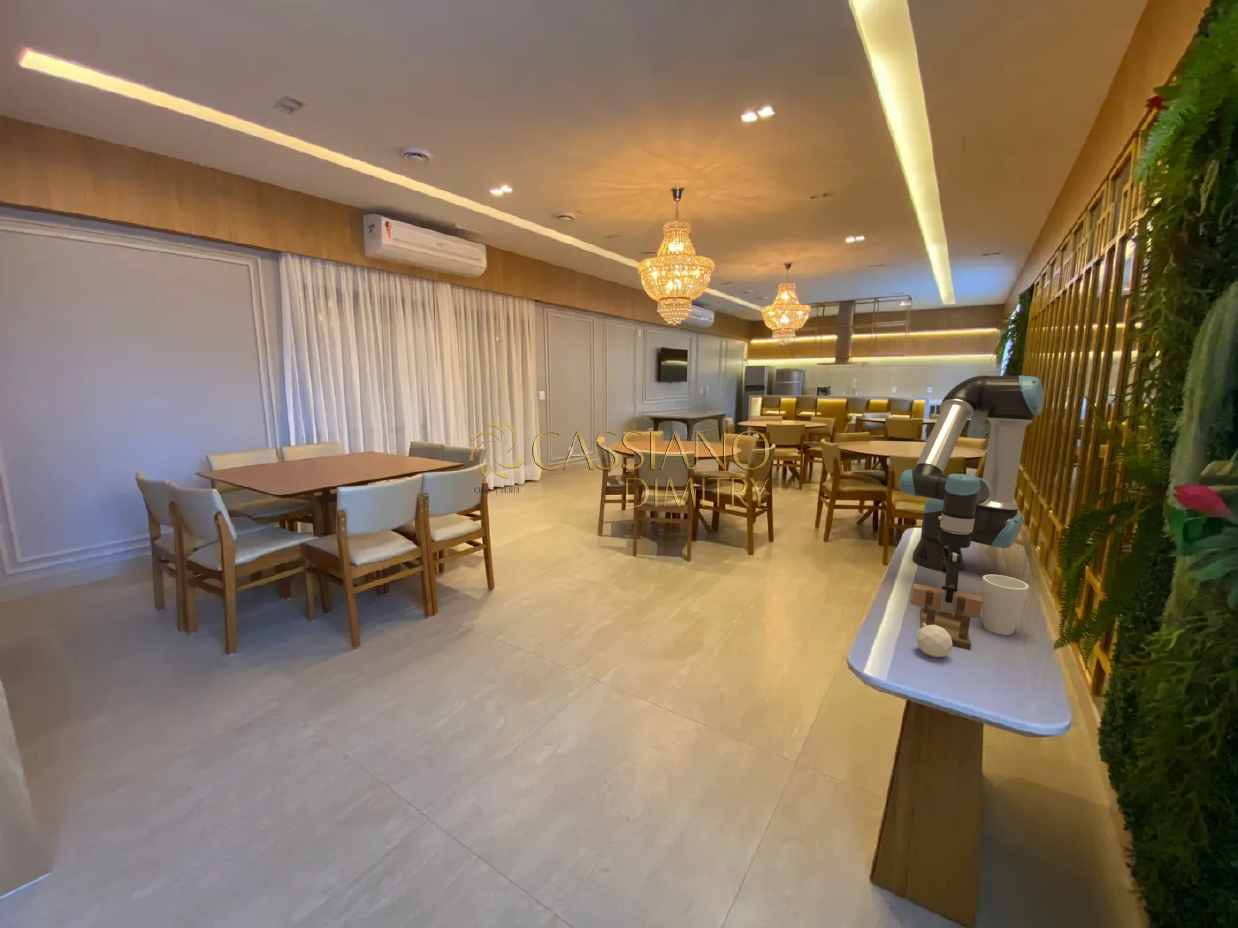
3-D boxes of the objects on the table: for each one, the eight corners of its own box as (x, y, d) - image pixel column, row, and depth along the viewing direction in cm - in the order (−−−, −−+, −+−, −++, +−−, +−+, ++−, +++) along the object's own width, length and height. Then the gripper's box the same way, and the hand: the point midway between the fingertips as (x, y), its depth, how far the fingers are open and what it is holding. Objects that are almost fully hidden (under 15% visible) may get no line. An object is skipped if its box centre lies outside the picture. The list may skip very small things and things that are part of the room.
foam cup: (1008, 641, 123) (1016, 592, 121) (968, 624, 131) (975, 578, 129) (1028, 632, 127) (1036, 585, 125) (988, 617, 136) (995, 572, 133)
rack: (920, 612, 138) (923, 586, 136) (963, 621, 133) (967, 595, 132) (921, 638, 124) (925, 610, 123) (970, 649, 119) (974, 620, 118)
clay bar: (911, 604, 143) (913, 588, 142) (911, 599, 147) (913, 583, 146) (979, 618, 135) (982, 601, 134) (977, 612, 139) (980, 595, 138)
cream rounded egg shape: (932, 664, 113) (912, 630, 115) (924, 659, 120) (905, 627, 122) (963, 653, 111) (942, 618, 114) (953, 648, 118) (934, 615, 121)
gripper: (936, 518, 149) (927, 585, 153) (942, 539, 128) (930, 616, 131) (966, 522, 146) (956, 590, 149) (978, 545, 124) (965, 624, 128)
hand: (944, 603), depth 140 cm, fingers open, 13 cm apart
